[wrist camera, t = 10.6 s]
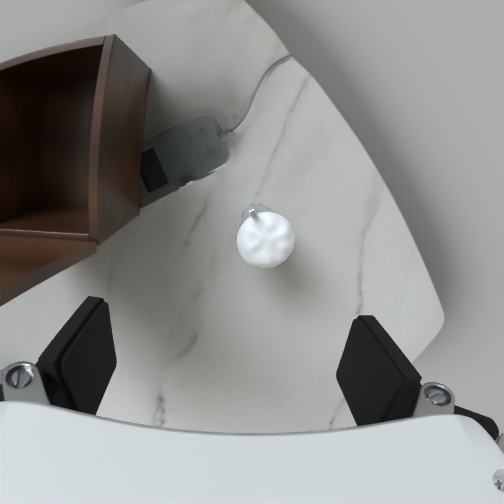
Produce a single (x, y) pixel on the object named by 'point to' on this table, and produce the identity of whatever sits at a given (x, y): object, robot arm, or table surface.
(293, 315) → the table surface
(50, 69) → the chest
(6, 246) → the lid
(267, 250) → the milkshake
